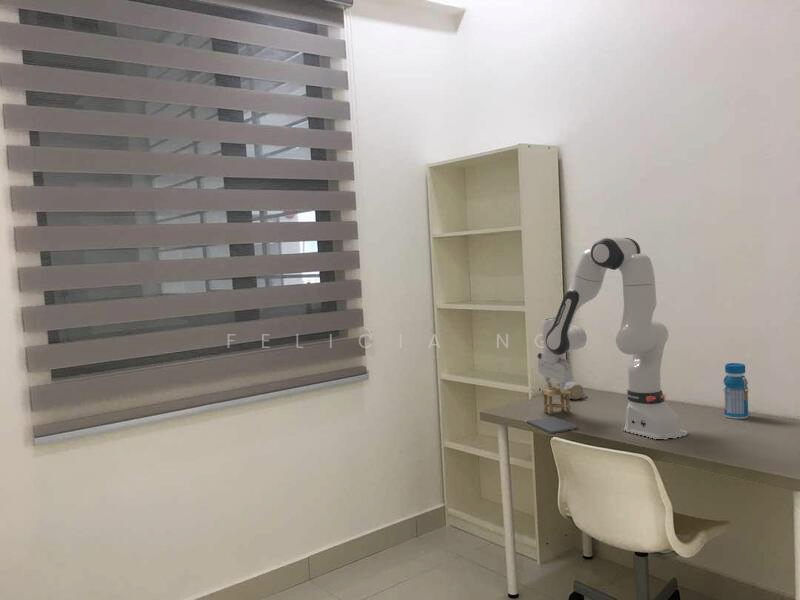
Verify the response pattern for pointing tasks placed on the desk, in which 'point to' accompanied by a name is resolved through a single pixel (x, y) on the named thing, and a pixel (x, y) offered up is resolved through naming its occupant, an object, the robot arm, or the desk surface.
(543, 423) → the charcoal mat
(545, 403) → the oak stool
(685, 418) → the desk surface
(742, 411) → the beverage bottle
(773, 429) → the desk surface
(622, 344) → the robot arm
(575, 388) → the ceramic mug
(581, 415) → the desk surface
